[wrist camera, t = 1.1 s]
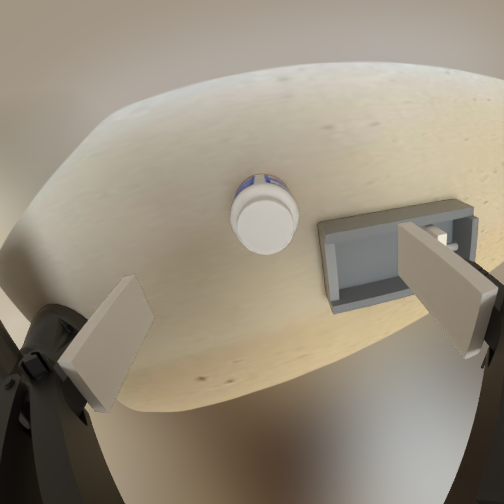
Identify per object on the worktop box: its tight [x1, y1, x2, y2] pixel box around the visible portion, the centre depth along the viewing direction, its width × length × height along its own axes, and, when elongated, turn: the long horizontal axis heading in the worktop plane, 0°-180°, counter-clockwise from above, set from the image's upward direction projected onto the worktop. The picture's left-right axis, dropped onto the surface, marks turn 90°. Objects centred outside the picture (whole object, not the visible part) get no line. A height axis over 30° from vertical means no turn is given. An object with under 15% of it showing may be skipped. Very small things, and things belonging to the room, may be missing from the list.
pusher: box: [420, 224, 458, 251], centre depth 26 cm, size 5×6×5 cm
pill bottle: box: [230, 174, 299, 255], centre depth 24 cm, size 5×5×10 cm
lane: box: [317, 199, 479, 314], centre depth 28 cm, size 18×9×5 cm, turn 102°
